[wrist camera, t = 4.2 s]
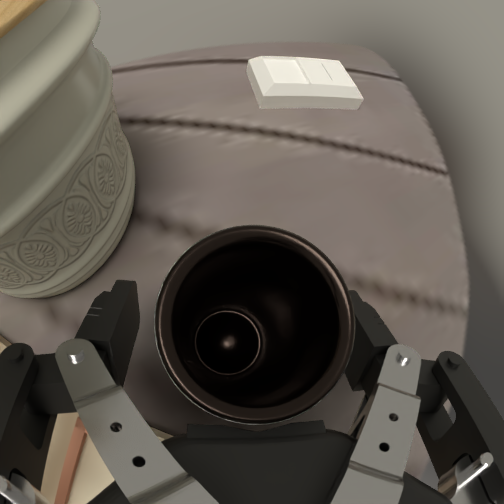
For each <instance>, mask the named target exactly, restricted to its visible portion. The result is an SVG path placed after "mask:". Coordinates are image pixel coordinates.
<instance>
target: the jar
mask: <svg viewBox="0 0 504 504" xmlns="http://www.w3.org/2000/svg"><path fill="white" fill-rule="evenodd" d="M100 18H101V11H100V7H99V5H98V4H97V2H96V1H95V0H0V292H2V293H5V294H7V295H10V296H14V297H19V298H45V297H51V296H55V295H58V294H61V293H64V292H66V291H68V290H70V289H72V288H74V287H76V286H78V285H79V284H81V283H82V282H84V281H85V280H86V279H88V278H89V277H90V276H91V275H92V274H94V273H95V272H96V271H97V270H98V269H99V268H100V267H101V266H102V265H103V264H104V263H105V261H106V260H107V259H108V258H109V256H110V255H111V254H112V252H113V251H114V250H115V248H116V247H117V245H118V243H119V242H120V240H121V238H122V236H123V234H124V232H125V230H126V227H127V225H128V222H129V219H130V216H131V213H132V208H133V203H134V193H135V167H134V161H133V157H132V154H131V149H130V146H129V143H128V141H127V138H126V137H125V135H124V133H123V132H122V129H121V125H120V121H119V118H118V114H117V110H116V106H115V102H114V98H113V94H112V87H113V77H112V70H111V67H110V64H109V62H108V60H107V59H106V57H105V56H104V55H103V54H102V52H100V51H99V50H98V49H97V48H95V47H94V45H93V41H92V40H93V38H94V36H95V34H96V32H97V29H98V27H99V24H100Z"/></svg>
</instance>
